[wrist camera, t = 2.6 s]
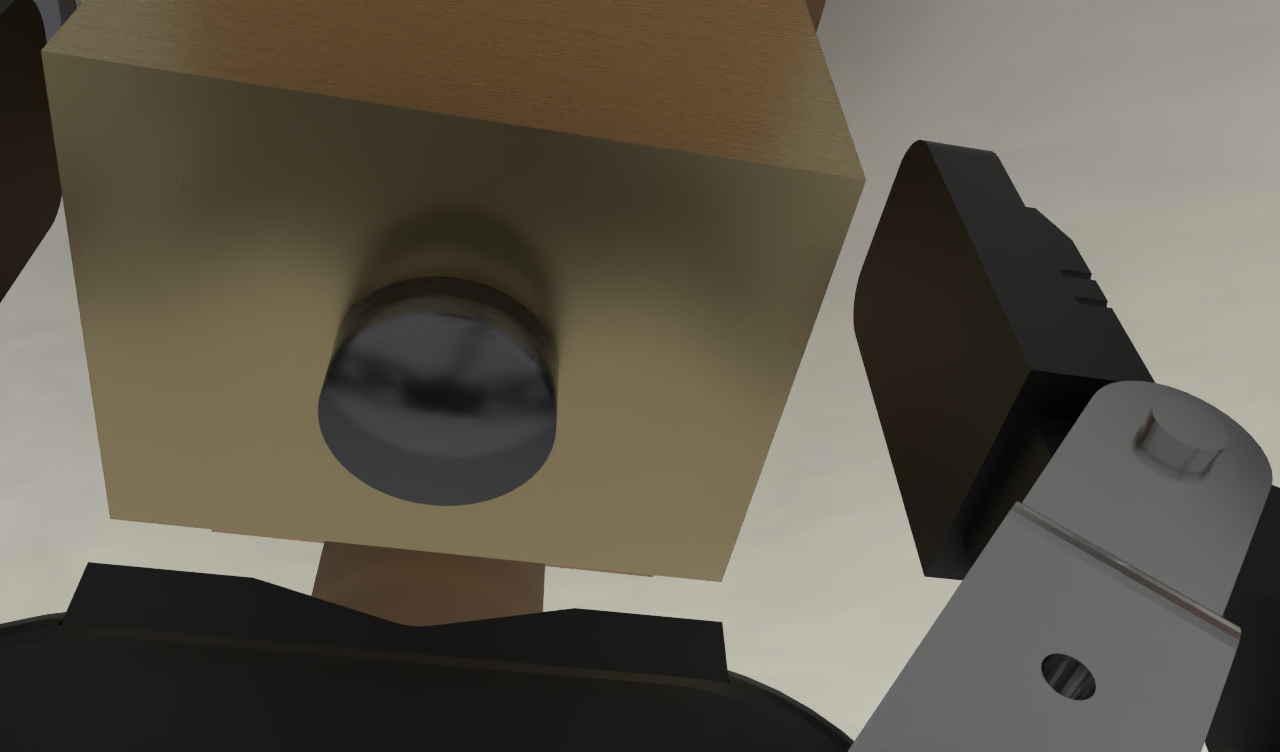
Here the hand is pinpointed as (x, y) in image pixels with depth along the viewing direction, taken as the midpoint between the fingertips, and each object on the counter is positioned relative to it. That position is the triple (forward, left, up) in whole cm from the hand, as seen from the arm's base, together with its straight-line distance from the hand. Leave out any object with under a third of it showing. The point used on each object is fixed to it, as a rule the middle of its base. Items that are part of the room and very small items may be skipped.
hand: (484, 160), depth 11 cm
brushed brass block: (0, 0, -3) cm, 3 cm away
